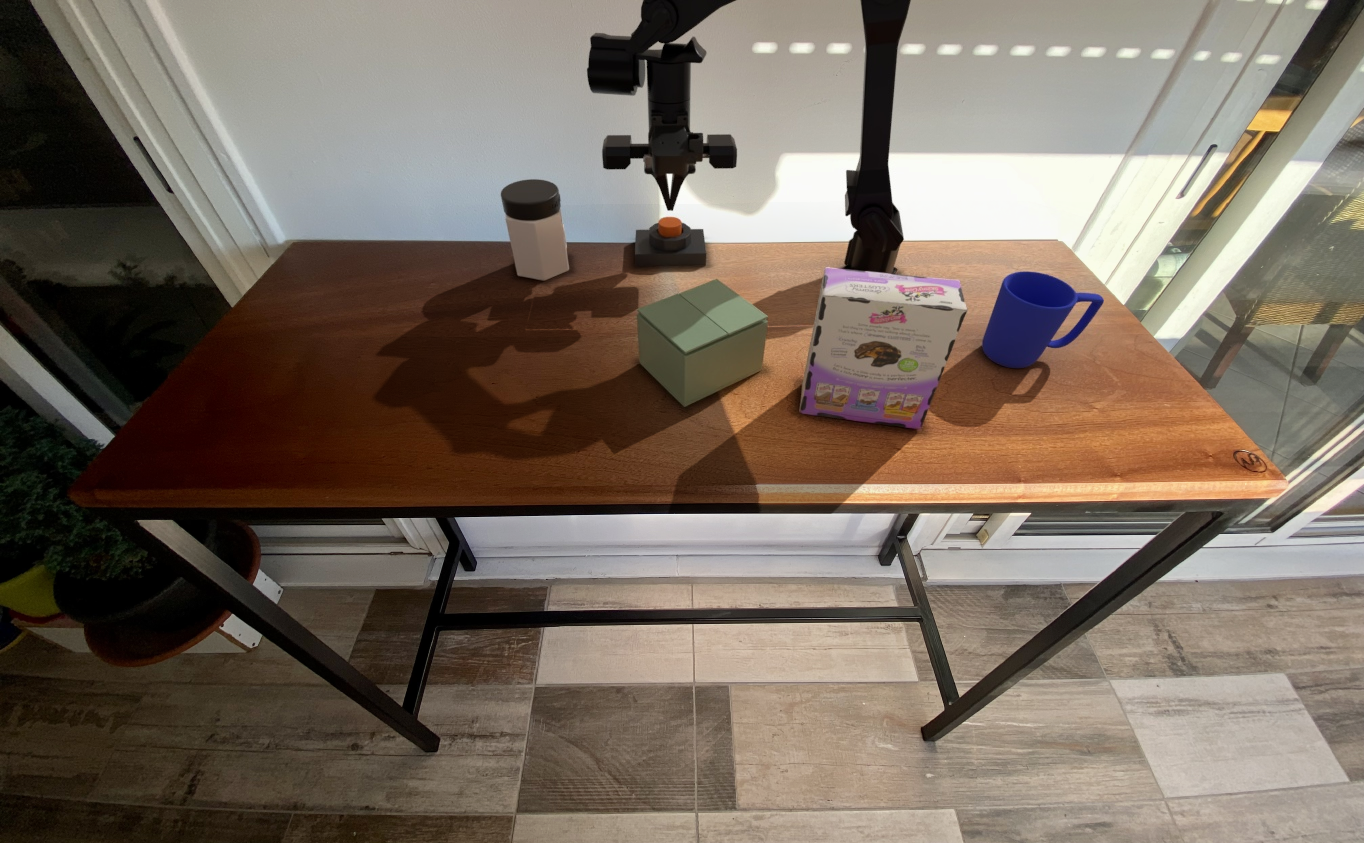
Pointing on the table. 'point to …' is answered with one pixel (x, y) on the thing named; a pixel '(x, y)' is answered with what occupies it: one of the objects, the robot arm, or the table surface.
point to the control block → (670, 248)
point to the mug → (1032, 318)
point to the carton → (695, 349)
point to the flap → (723, 306)
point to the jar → (535, 228)
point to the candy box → (880, 346)
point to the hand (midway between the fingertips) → (670, 209)
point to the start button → (670, 227)
